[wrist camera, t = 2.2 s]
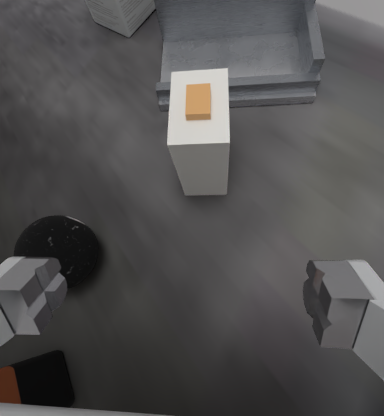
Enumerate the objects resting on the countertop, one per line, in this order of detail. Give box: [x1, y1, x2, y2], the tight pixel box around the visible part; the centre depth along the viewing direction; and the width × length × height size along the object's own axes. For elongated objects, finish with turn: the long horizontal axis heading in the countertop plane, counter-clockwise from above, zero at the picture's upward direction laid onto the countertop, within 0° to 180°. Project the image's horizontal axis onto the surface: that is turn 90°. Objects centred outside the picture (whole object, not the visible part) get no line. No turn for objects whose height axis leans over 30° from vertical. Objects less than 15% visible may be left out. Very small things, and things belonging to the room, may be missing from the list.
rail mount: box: [154, 0, 325, 111], centre depth 27 cm, size 16×10×6 cm, turn 89°
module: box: [167, 68, 230, 196], centre depth 22 cm, size 4×6×10 cm, turn 179°
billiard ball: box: [14, 216, 98, 289], centre depth 22 cm, size 6×6×6 cm
